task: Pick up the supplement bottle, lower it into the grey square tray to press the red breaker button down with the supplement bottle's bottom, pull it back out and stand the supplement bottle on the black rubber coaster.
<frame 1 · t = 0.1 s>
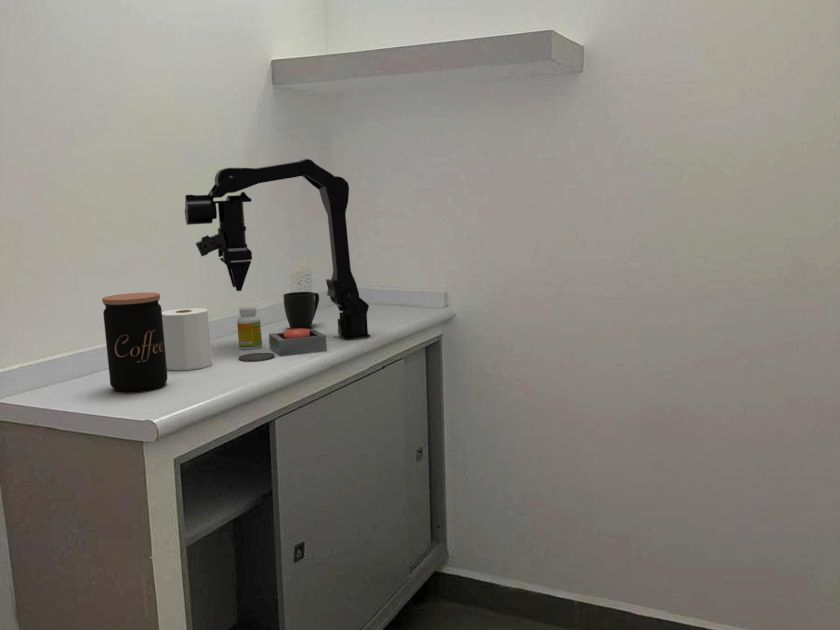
hand: (236, 288, 197), 14 cm above the counter, fingers open, 9 cm apart
mug: (305, 328, 227), on the counter
coffee jar: (140, 388, 163), on the counter
grey square tray: (297, 349, 195), on the counter
coaster: (256, 357, 187), on the counter
button: (297, 335, 195), point 3 cm above the counter, slide at 0.0 cm
toilet paper: (188, 366, 182), on the counter
supplement bottle: (250, 348, 200), on the counter
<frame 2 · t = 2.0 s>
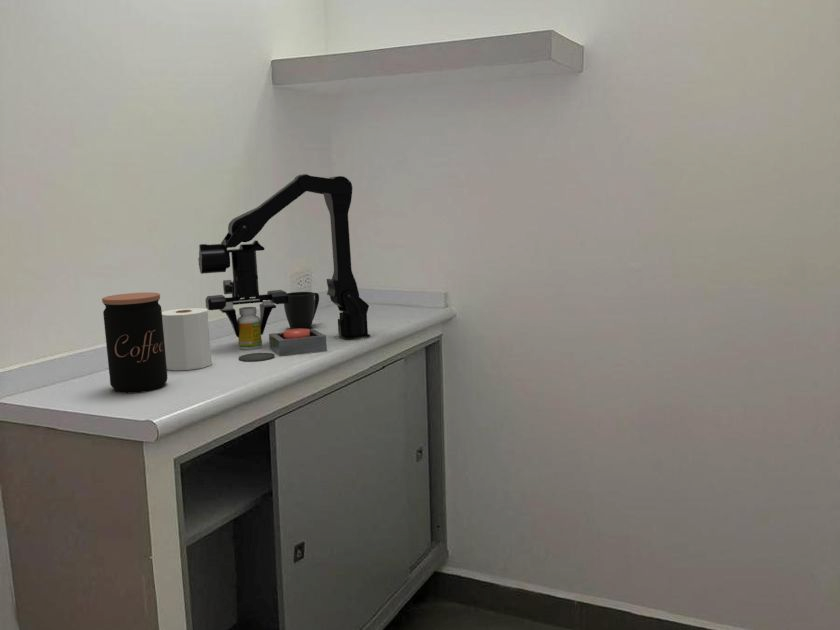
hand: (249, 335, 199), 3 cm above the counter, fingers closed on supplement bottle, 5 cm apart
supplement bottle: (250, 348, 200), on the counter, touching gripper
everything else where it was.
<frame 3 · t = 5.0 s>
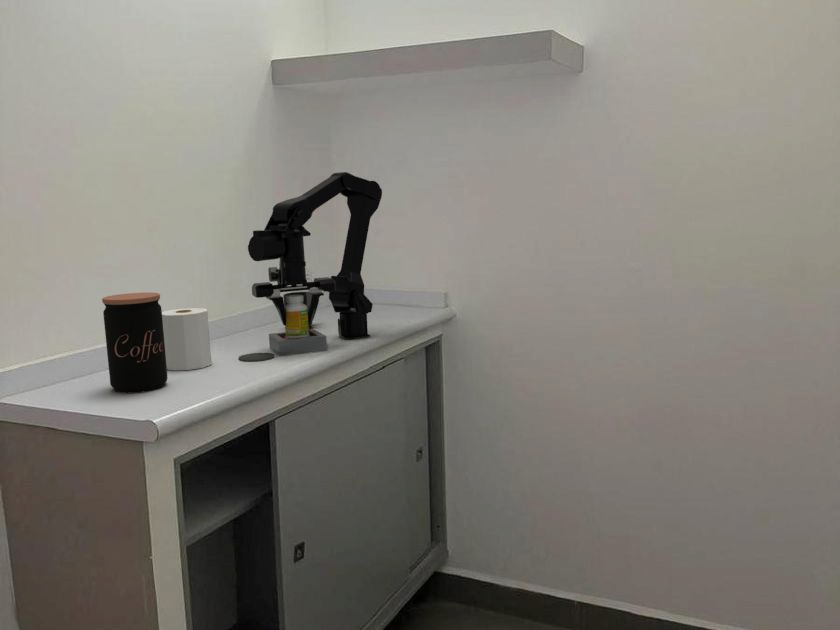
hand: (296, 323, 194), 6 cm above the counter, fingers closed on supplement bottle, 5 cm apart
button: (297, 342, 195), point 2 cm above the counter, slide at 1.5 cm, touching supplement bottle
supplement bottle: (297, 337, 195), point 3 cm above the counter, touching button, gripper
everything else where it was.
when the fingers open (4 cm above the counter, at t = 8.8 s): supplement bottle stays where it is, resting on coaster.
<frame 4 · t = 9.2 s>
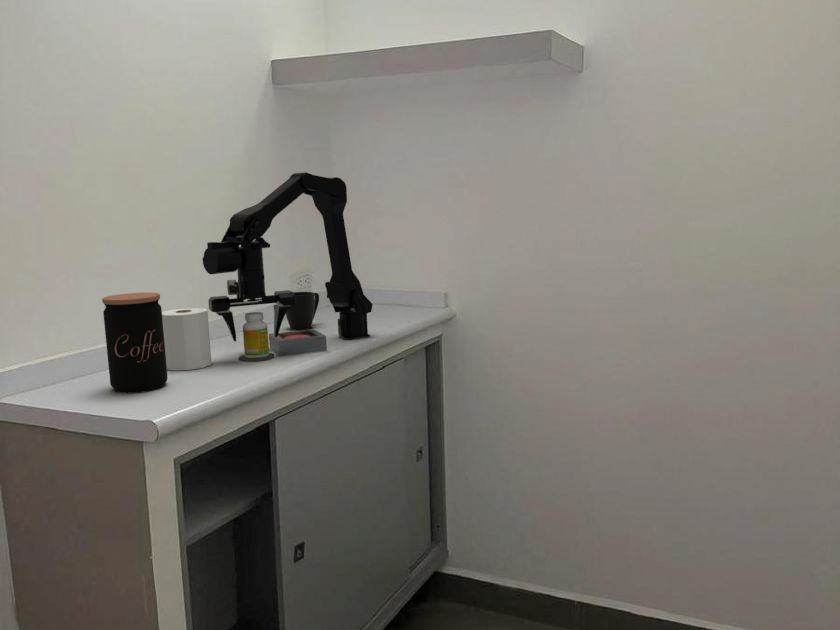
hand: (255, 339, 187), 4 cm above the counter, fingers open, 9 cm apart
button: (297, 342, 195), point 2 cm above the counter, slide at 1.5 cm
supplement bottle: (257, 357, 187), resting on coaster
everything else where it was.
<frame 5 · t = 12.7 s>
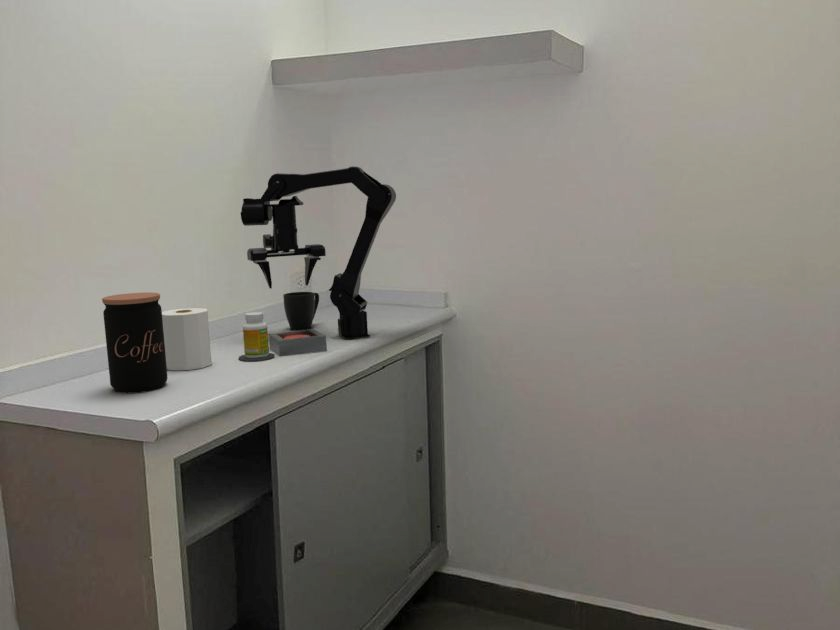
hand: (288, 286, 209), 13 cm above the counter, fingers open, 9 cm apart
nothing on the counter moved.
at the end: button slide at 1.5 cm; supplement bottle 0.1 cm from the coaster (horizontally); supplement bottle tilted 0° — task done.
